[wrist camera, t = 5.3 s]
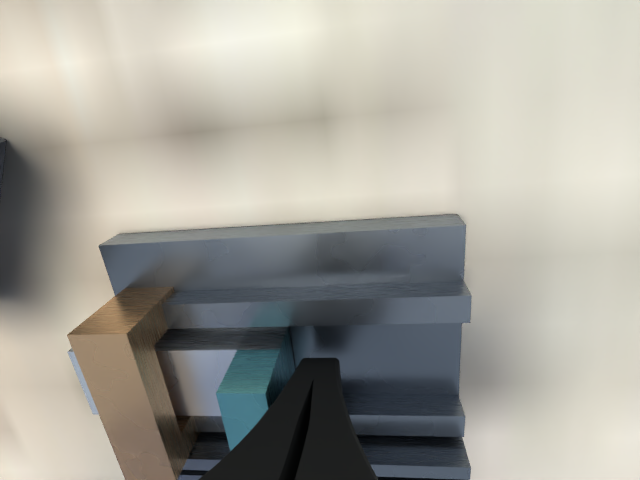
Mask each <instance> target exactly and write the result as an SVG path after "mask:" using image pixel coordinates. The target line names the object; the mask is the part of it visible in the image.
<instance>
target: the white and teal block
mask: <svg viewBox="0 0 640 480" xmlns="http://www.w3.org/2000/svg"><path fill="white" fill-rule="evenodd" d="M154 348H155V351H156V355H157V358H158V361H159V364H160V368H161V371H162V374H163V377H164V381H165V384H166V387H167V390H168V394H169V397H170V400H171V403H172V406H173V410H174V413H175V415H178V416H222V420H223V424H224V428H225V432H226V436H227V440H228V444H229V448H230V451H231V450H232V449H233V448H234V447H235V446H236V445H237V444H238V443H239V442H240V441H241V440H242V439H243V438H244V437H245V436H246V435H247V434H248V433H249V432H250V431H251V430H252V428H253V427H254V426H255V425H256V424H257V423H258V421H259V420H260V419H261V418H262V416H263V415H264V414H265V413H266V411H267V410H268V409H269V408H270V406H271V405H272V404H273V402H274V401H275V400H276V398H277V397H278V395H279V394H280V393H281V391H282V390H283V388H284V387H285V385H286V384H287V382H288V381H289V379H290V378H291V376H292V375H293V373H294V371H295V365H294V359H293V352H292V346H291V339H290V332H289V326H283V327H235V328H187V329H168V330H167V331H166V332H165V333H164V335H163V336H162V337H161V338H160V339H159V341H158V342H157V343H156V344H155V345H154ZM68 354H69V357H70V359H71V361H72V364H73V366H74V369H75V371H76V374H77V376H78V378H79V381H80V383H81V386H82V388H83V391H84V393H85V396H86V398H87V400H88V403H89V405H90V408H91V410H92V413H93V414H99V413H98V411H97V408H96V406H95V403H94V401H93V398H92V396H91V393H90V391H89V388H88V386H87V383H86V381H85V378H84V376H83V373H82V371H81V369H80V366H79V364H78V361H77V359H76V356H75V354H74V351H73V349H70V350H69V351H68Z"/></svg>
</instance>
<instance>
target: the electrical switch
mask: <svg viewBox="0 0 640 480" xmlns="http://www.w3.org/2000/svg"><path fill="white" fill-rule="evenodd" d="M5 148H6V140H5V139H2V138H0V198H1V188H2V178H3V168H4V158H5Z"/></svg>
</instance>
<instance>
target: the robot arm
mask: <svg viewBox="0 0 640 480" xmlns="http://www.w3.org/2000/svg"><path fill="white" fill-rule="evenodd" d="M198 480H378V478H377V476H376V474H375V472H374V470H373V469H372V467H371V465H370V463H369V461H368V459H367V457H366V455H365V453H364V451H363V449H362V446H361V444H360V442H359V440H358V437H357V435H356V432H355V430H354V427H353V425H352V422H351V419H350V416H349V414H348V410H347V407H346V404H345V400H344V397H343V393H342V383H341V373H340V363H339V360H338V359H337V358H303V359H302V360H301V361H300V363H299V365H298V366H297V368H296V370H295V371H294V373H293V375H292V376H291V378H290V379H289V381H288V382H287V384H286V385H285V387H284V388H283V390H282V391H281V393H280V394H279V395H278V397H277V398H276V400H275V401H274V402H273V404H272V405H271V406H270V408H269V409H268V410H267V411H266V413H265V414H264V415H263V416H262V418H261V419H260V420H259V421H258V423H257V424H256V425H255V426H254V427H253V428H252V430H251V431H250V432H249V433H248V434H247V435H246V436H245V437H244V438H243V439H242V440H241V441H240V442H239V443H238V444H237V445H236V446H235V447H234V448H233V449H232V450H231V451H230V452H229V453H228V454H227V455H226V456H225V457H224V458H223V459H222V460H221V461H220V462H219V463H218V464H216V465H215V466H214V467H213V468H212V469H211V470H209V471H208V472H207V473H206V474H205V475H203V476H202V477H201V478H200V479H198Z"/></svg>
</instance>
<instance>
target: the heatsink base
mask: <svg viewBox="0 0 640 480" xmlns="http://www.w3.org/2000/svg"><path fill="white" fill-rule="evenodd" d="M465 236H466V225H465V223H464V222H463V221H462V220H461V218H460V217H459V216H458V215H457V214H452V215H435V216H418V217H401V218H384V219H368V220H351V221H334V222H317V223H300V224H283V225H266V226H249V227H232V228H216V229H199V230H182V231H165V232H148V233H131V234H118V235H116V236H114V237H113V238H111V239H109V240H107V241H106V242H104V243H102V244H100V245H99V249H100V251H101V254H102V257H103V260H104V263H105V266H106V269H107V272H108V275H109V278H110V281H111V284H112V287H113V290H114V293H115V297H113V298H112V299H111V300H110V301H108V302H107V303H106V304H105V305H104V306H102V307H101V308H100V309H99V310H97V311H96V312H95V313H94V314H92V315H91V316H90V317H89V318H88V319H86V320H85V321H84V322H83V323H81V324H80V325H79V326H78V327H76V328H75V329H74V330H73V331H72V332H70V333H69V334H68V335H67V336H68V339H69V341H70V344H71V346H72V349H73V351H74V354H75V356H76V359H77V361H78V364H79V366H80V369H81V371H82V373H83V376H84V378H85V381H86V383H87V386H88V388H89V391H90V393H91V396H92V398H93V401H94V403H95V406H96V408H97V411H98V413H99V416H100V418H101V421H102V423H103V425H104V428H105V430H106V433H107V435H108V438H109V440H110V443H111V445H112V448H113V450H114V453H115V455H116V458H117V460H118V463H119V465H120V468H121V470H122V472H123V475H124V477H125V480H198V479H200V478H201V477H202V476H203V475H205V474H206V473H207V472H208V471H209V470H211V469H212V468H213V467H214V466H215V465H216V464H218V463H219V462H220V461H221V460H222V459H223V458H224V457H225V456H226V455H227V454H228V453H229V452H230V448H229V444H228V440H227V436H226V432H225V428H224V424H223V420H222V416H178V415H175V413H174V410H173V406H172V403H171V400H170V397H169V394H168V390H167V387H166V384H165V381H164V377H163V374H162V371H161V368H160V364H159V361H158V358H157V355H156V351H155V348H154V345H155V344H156V343H157V342H158V341H159V339H160V338H161V337H162V336H163V335H164V333H165V332H166V331H167V330H168V329H187V328H235V327H283V326H289V332H290V339H291V346H292V352H293V359H294V365H295V370H296V368H297V366H298V365H299V363H300V361H301V360H302V359H303V358H337V359H338V360H339V363H340V373H341V383H342V393H343V397H344V400H345V404H346V407H347V410H348V414H349V416H350V419H351V422H352V425H353V427H354V430H355V432H356V435H357V437H358V440H359V442H360V444H361V446H362V449H363V451H364V453H365V455H366V457H367V459H368V461H369V463H370V465H371V467H372V469H373V470H374V472H375V474H376V476H377V478H378V480H470V472H471V467H470V463H469V460H468V456H467V453H466V449H465V446H464V442H463V439H462V437H464V426H465V415H464V412H463V408H462V405H461V402H460V399H459V373H460V350H461V327H462V323H470V314H471V294H470V292H469V290H468V288H467V286H466V285H465V283H464V259H465Z"/></svg>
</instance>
